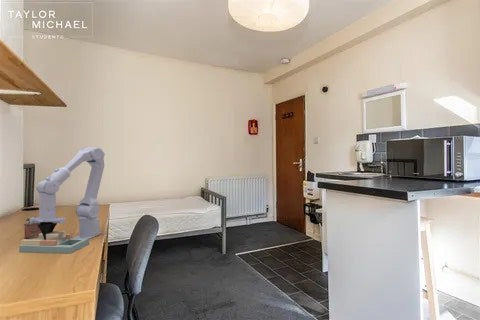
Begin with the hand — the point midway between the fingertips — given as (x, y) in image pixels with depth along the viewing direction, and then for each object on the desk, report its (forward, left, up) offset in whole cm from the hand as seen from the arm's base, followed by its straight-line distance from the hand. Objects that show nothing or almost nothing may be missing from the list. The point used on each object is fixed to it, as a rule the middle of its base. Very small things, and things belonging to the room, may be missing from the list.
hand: (47, 239), depth 115 cm
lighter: (-13, -17, -4) cm, 22 cm away
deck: (0, +4, -3) cm, 5 cm away
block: (0, +4, -1) cm, 4 cm away
